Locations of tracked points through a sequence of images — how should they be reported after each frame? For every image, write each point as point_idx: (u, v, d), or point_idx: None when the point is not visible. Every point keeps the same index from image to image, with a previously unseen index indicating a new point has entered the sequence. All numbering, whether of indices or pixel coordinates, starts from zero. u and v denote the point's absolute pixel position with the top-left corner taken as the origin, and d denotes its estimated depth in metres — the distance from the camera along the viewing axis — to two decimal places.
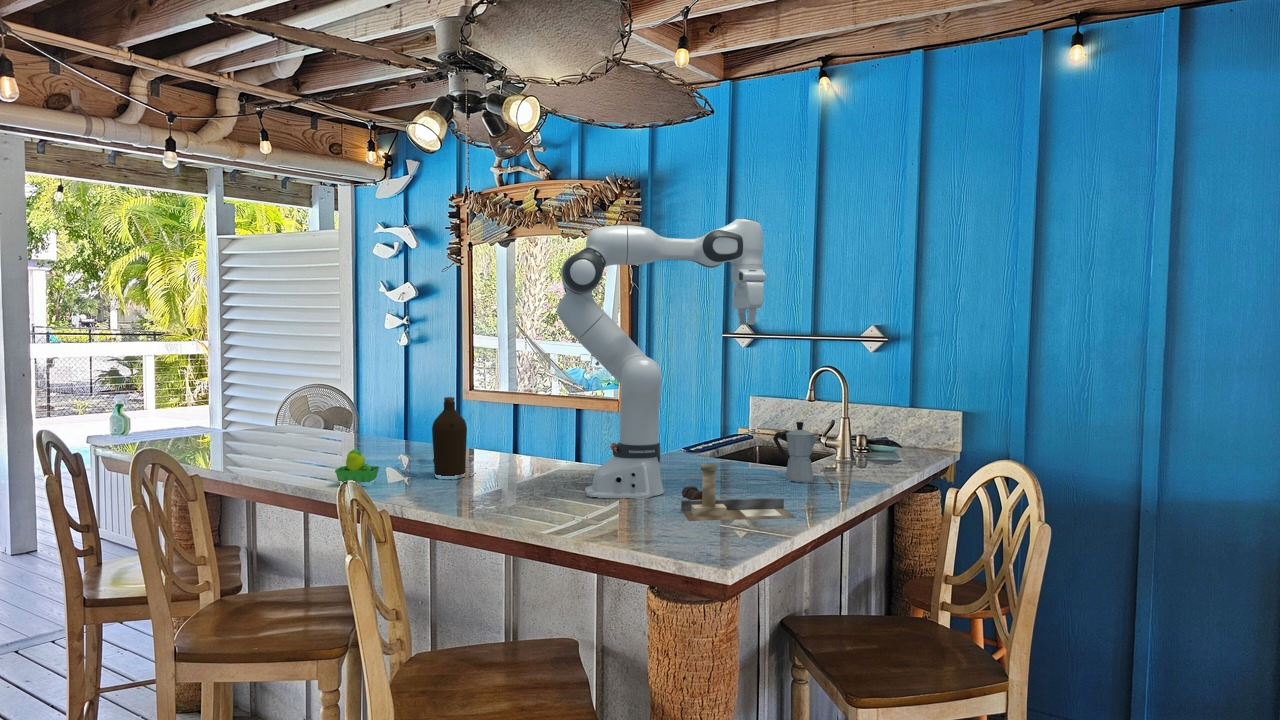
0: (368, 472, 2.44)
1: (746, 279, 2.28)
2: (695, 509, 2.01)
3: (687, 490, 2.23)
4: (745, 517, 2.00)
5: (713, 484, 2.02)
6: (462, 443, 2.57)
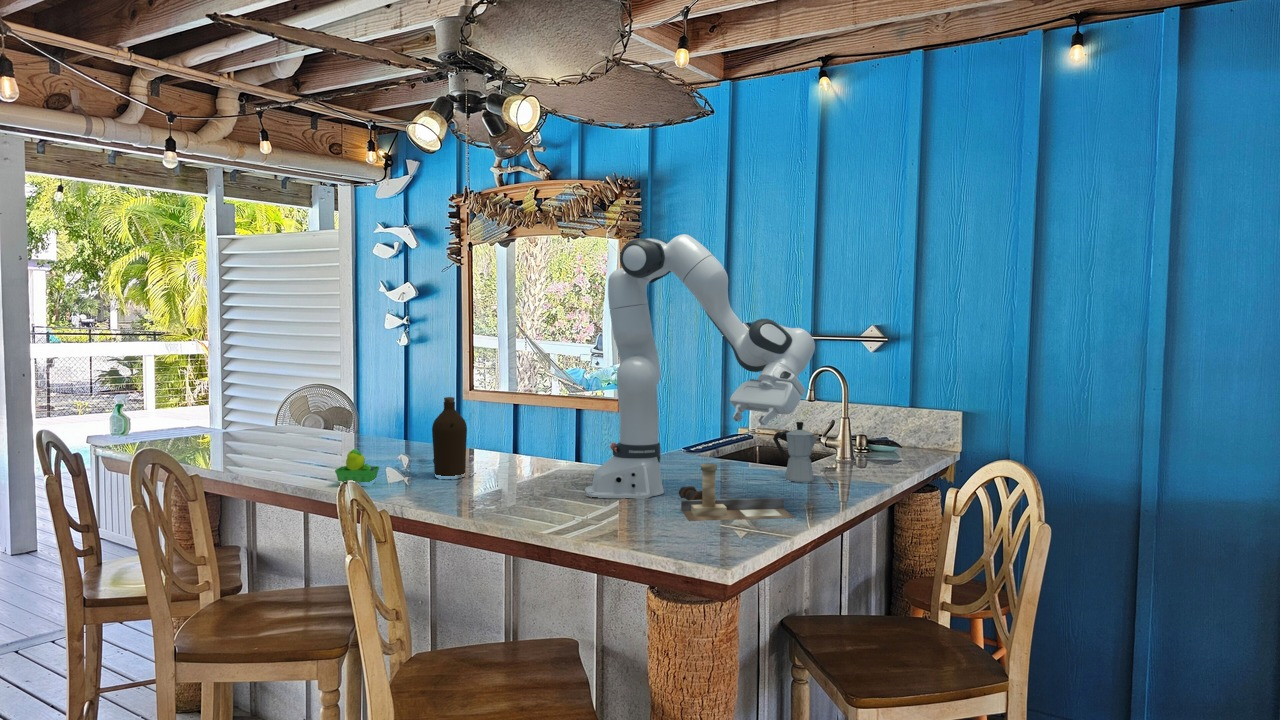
0: (368, 472, 2.44)
1: (792, 381, 2.07)
2: (695, 509, 2.01)
3: (685, 490, 2.22)
4: (745, 517, 2.00)
5: (713, 484, 2.02)
6: (462, 443, 2.57)
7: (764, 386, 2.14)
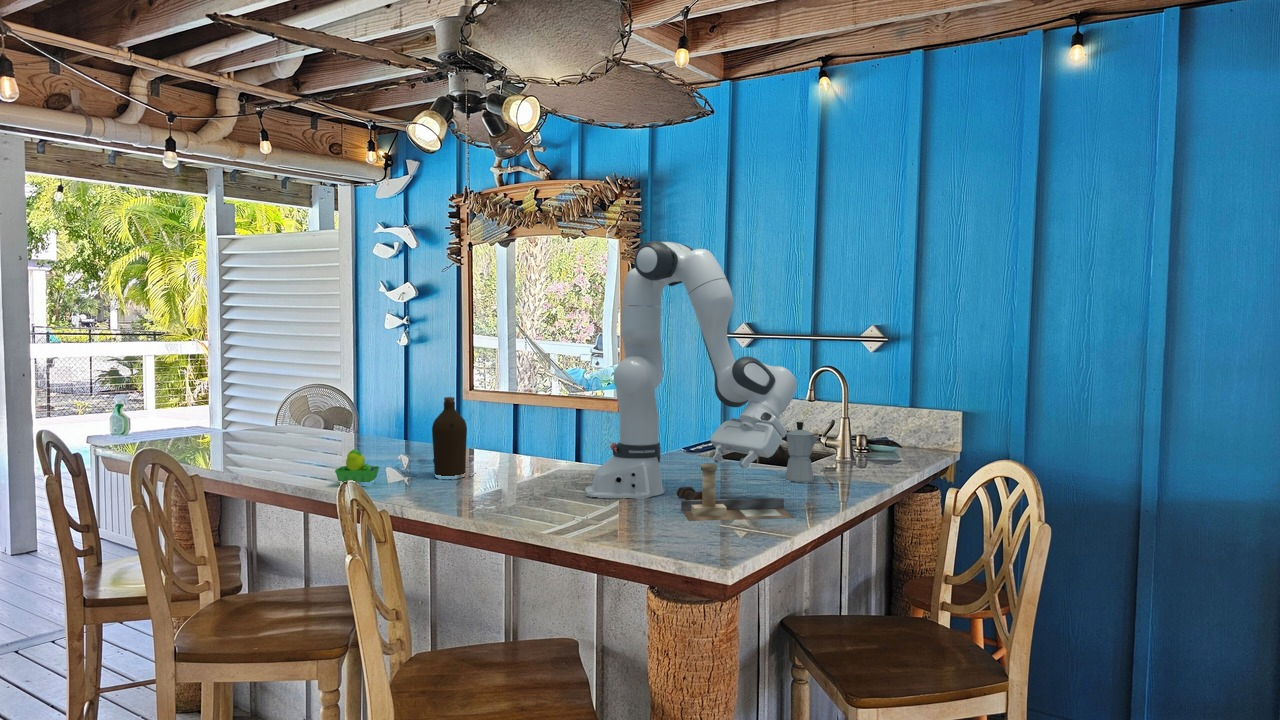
0: (368, 472, 2.44)
1: (773, 423, 2.04)
2: (695, 509, 2.01)
3: (684, 491, 2.22)
4: (745, 517, 2.00)
5: (713, 484, 2.02)
6: (462, 443, 2.57)
7: (745, 427, 2.10)
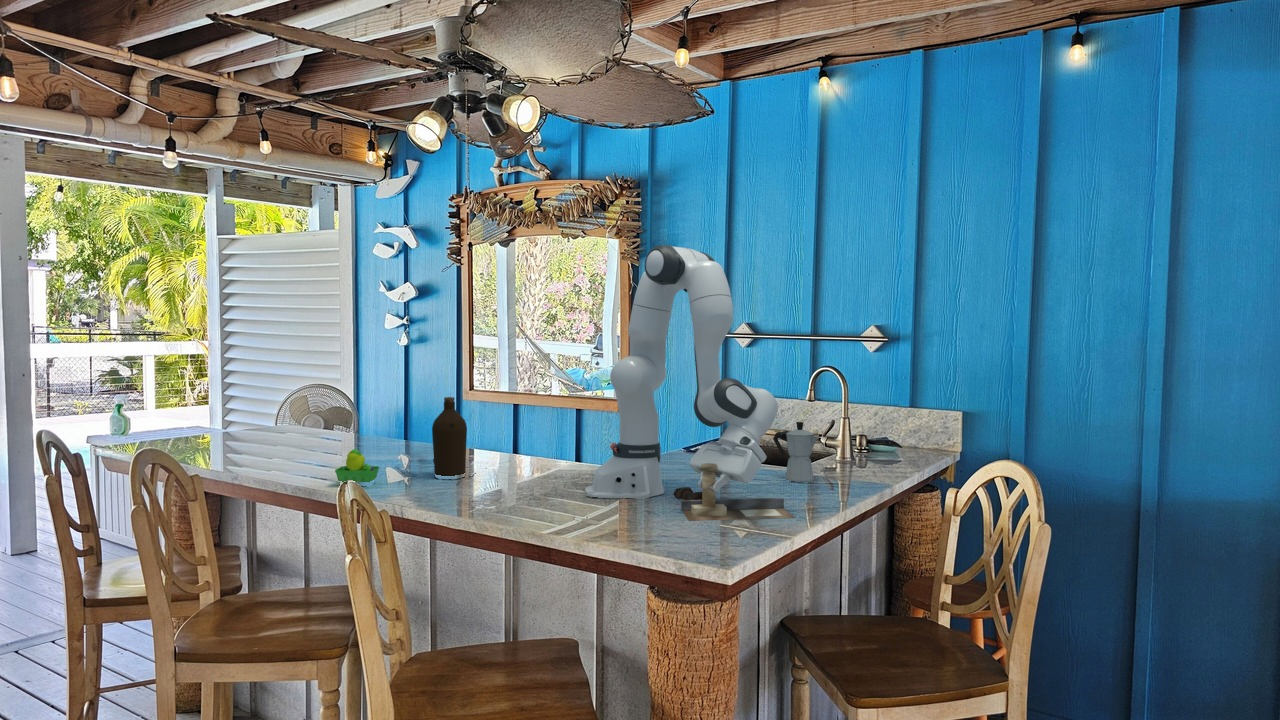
0: (368, 472, 2.44)
1: (752, 447, 2.00)
2: (695, 509, 2.01)
3: (682, 491, 2.21)
4: (745, 517, 2.00)
5: None
6: (462, 443, 2.57)
7: (724, 451, 2.06)
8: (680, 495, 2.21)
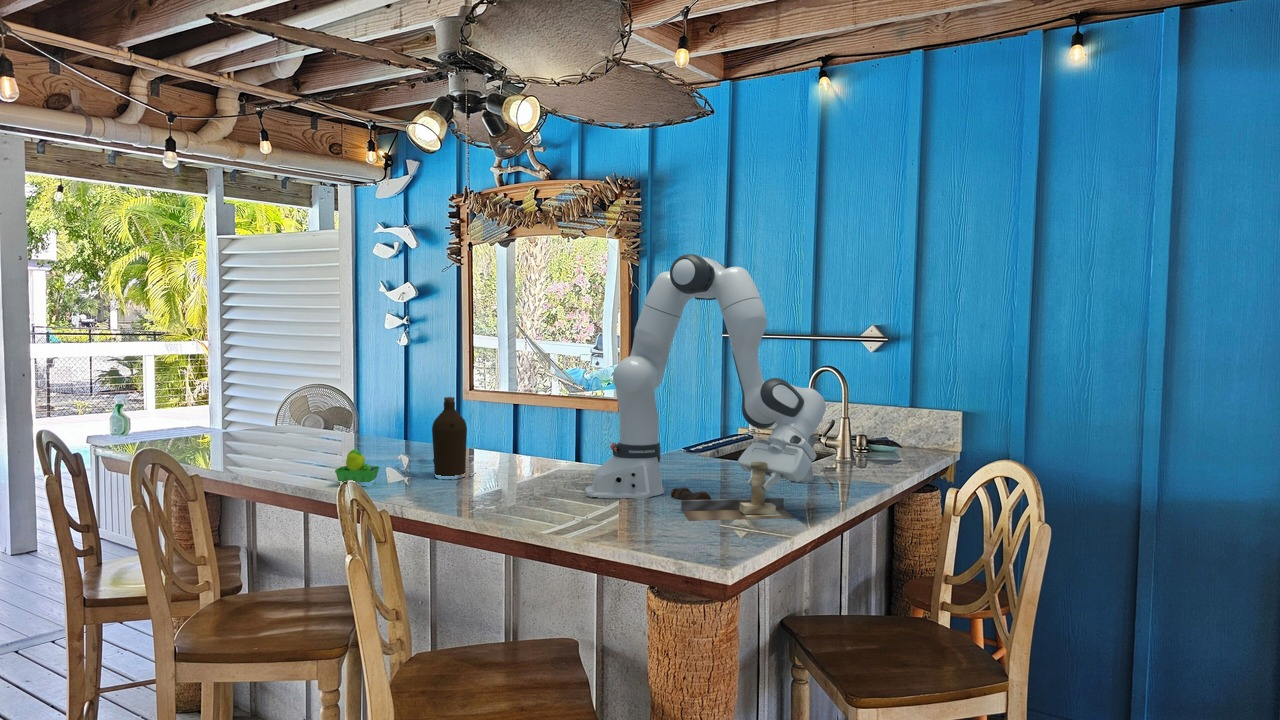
0: (368, 472, 2.44)
1: (803, 446, 2.01)
2: (745, 506, 2.02)
3: (680, 492, 2.21)
4: (745, 517, 2.00)
5: None
6: (462, 443, 2.57)
7: (773, 450, 2.08)
8: (678, 496, 2.20)
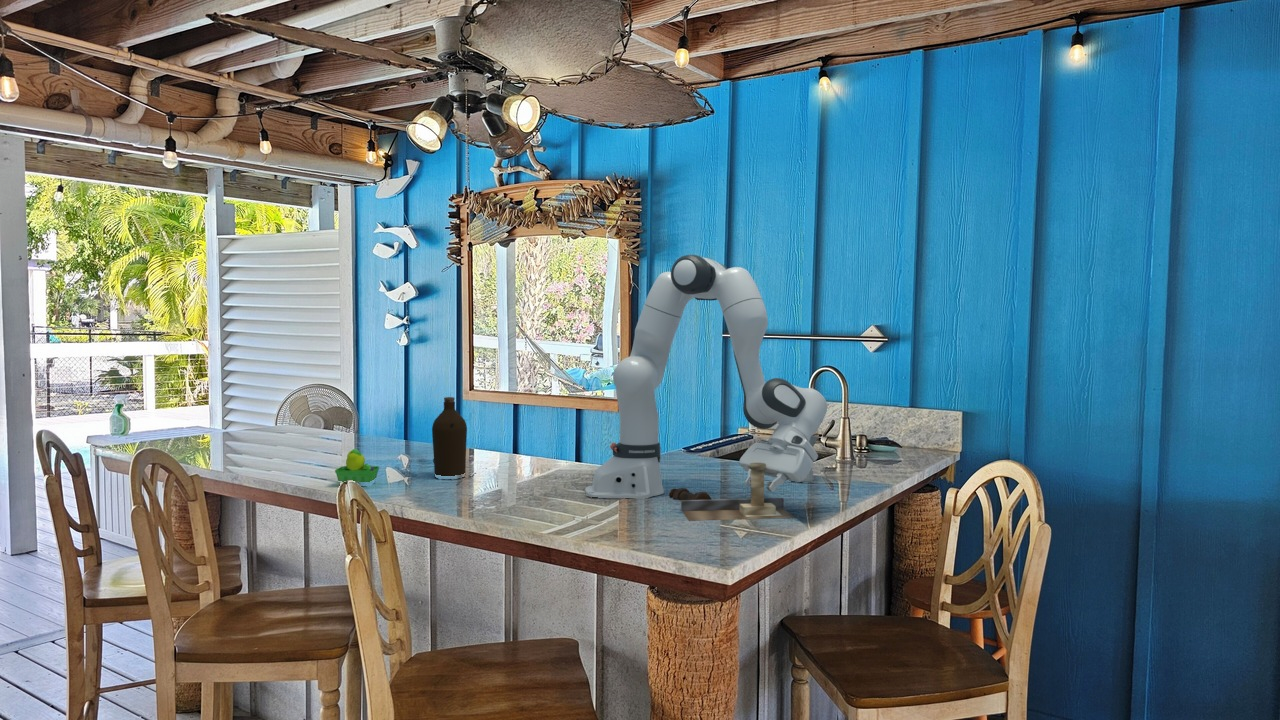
0: (368, 472, 2.44)
1: (804, 446, 2.01)
2: (745, 508, 2.02)
3: (679, 492, 2.20)
4: (745, 517, 2.00)
5: (762, 483, 2.03)
6: (462, 443, 2.57)
7: (775, 450, 2.08)
8: (677, 496, 2.20)
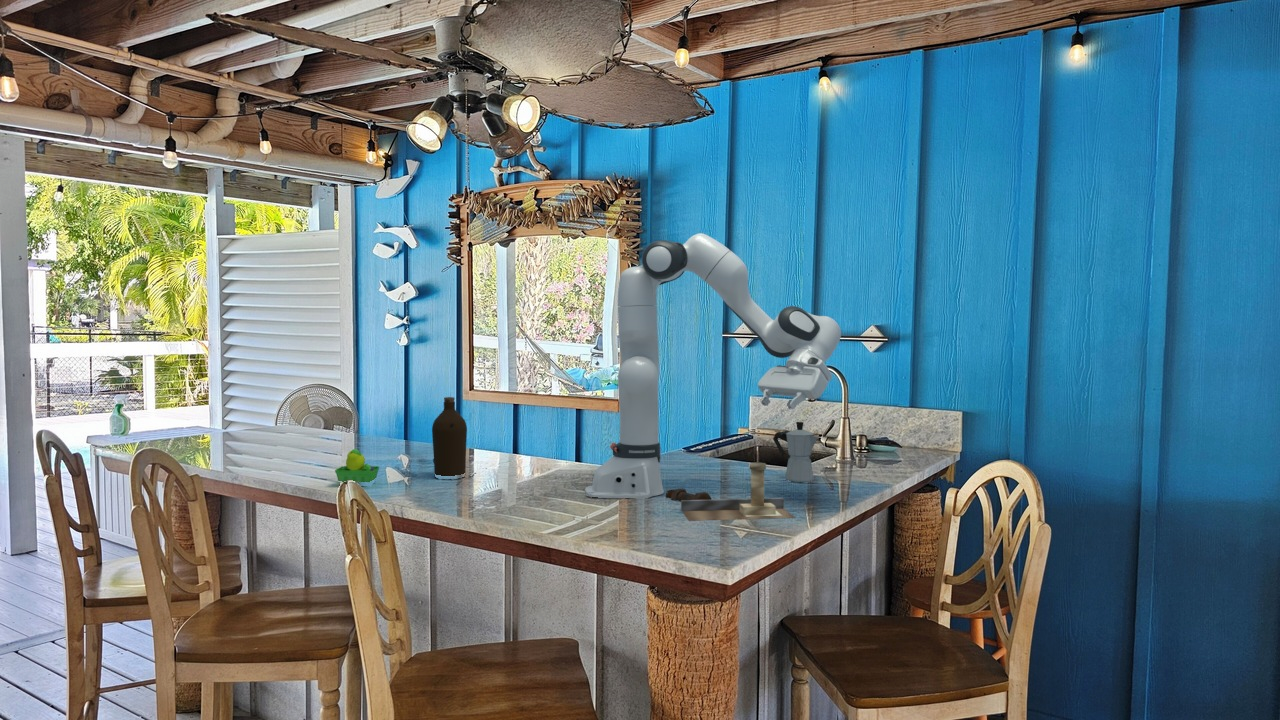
0: (368, 472, 2.44)
1: (820, 366, 2.14)
2: (745, 508, 2.02)
3: (677, 493, 2.19)
4: (745, 517, 2.00)
5: (762, 483, 2.03)
6: (462, 443, 2.57)
7: (792, 372, 2.20)
8: (676, 497, 2.19)
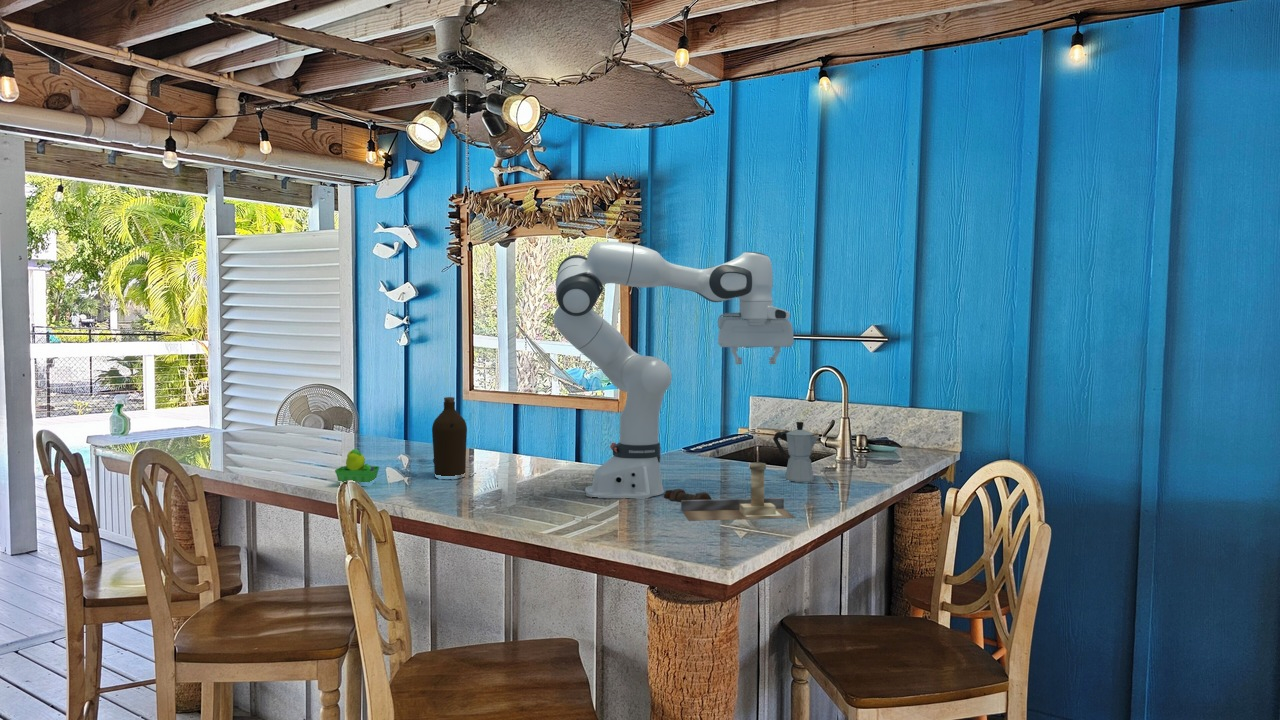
0: (368, 472, 2.44)
1: (788, 318, 2.23)
2: (745, 508, 2.02)
3: (676, 493, 2.19)
4: (745, 517, 2.00)
5: (762, 483, 2.03)
6: (462, 443, 2.57)
7: (756, 325, 2.22)
8: (675, 497, 2.18)
